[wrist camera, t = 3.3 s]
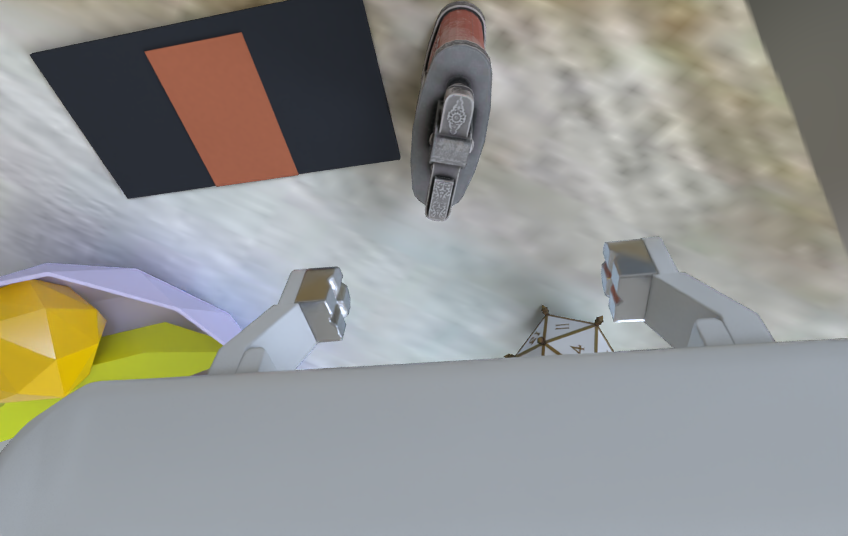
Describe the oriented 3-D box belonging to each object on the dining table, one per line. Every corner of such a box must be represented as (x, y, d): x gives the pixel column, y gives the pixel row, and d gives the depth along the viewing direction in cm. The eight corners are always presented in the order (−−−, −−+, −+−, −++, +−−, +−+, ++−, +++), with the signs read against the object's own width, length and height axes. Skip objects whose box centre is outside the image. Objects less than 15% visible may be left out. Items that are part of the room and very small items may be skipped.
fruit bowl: (267, 232, 36) (207, 351, 28) (307, 426, 54) (279, 535, 46) (-101, 206, 37) (-273, 316, 28) (60, 408, 54) (-15, 512, 46)
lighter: (433, -5, 25) (421, 58, 18) (497, 7, 25) (512, 74, 18) (413, 137, 31) (397, 232, 23) (465, 146, 31) (467, 243, 23)
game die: (556, 278, 43) (623, 297, 33) (603, 353, 44) (680, 393, 34) (474, 338, 42) (518, 376, 32) (525, 413, 43) (581, 470, 34)
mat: (359, -15, 25) (358, -13, 25) (400, 157, 32) (400, 160, 31) (32, 53, 28) (27, 55, 28) (129, 196, 35) (126, 199, 34)
